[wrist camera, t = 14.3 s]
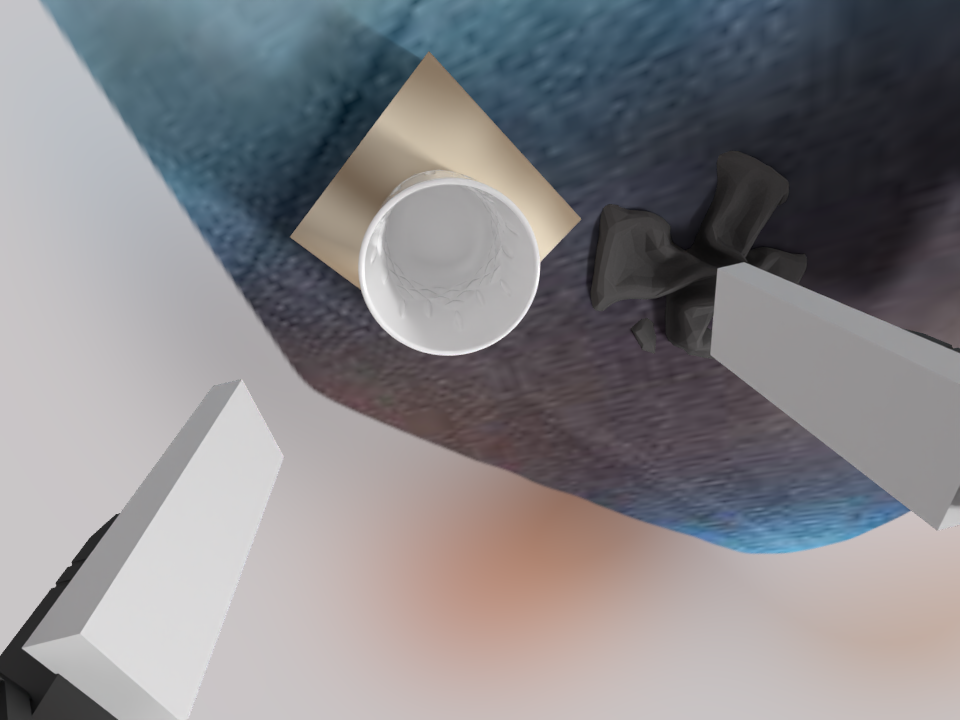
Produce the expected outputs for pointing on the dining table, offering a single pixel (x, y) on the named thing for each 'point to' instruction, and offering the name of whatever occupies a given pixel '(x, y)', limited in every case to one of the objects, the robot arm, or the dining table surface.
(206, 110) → the dining table surface
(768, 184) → the cloth
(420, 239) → the white cup
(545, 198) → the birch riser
